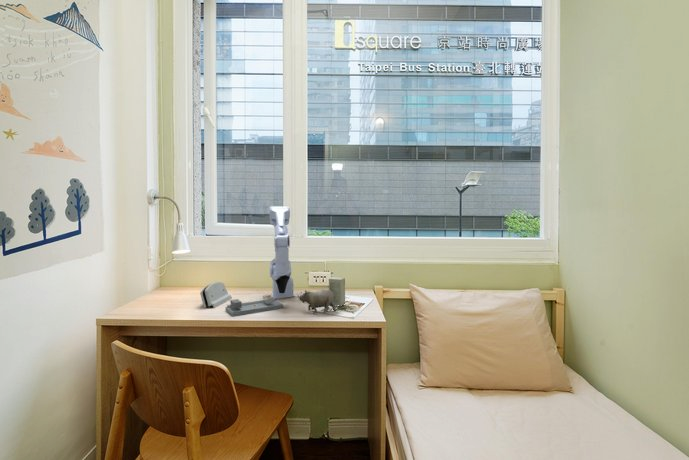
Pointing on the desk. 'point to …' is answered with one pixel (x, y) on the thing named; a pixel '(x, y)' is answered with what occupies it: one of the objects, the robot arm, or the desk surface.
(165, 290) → the desk surface
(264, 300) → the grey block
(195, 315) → the desk surface
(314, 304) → the grey four-legged figurine
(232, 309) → the hole board
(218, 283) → the grey upright panel
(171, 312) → the desk surface
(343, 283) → the skincare box
